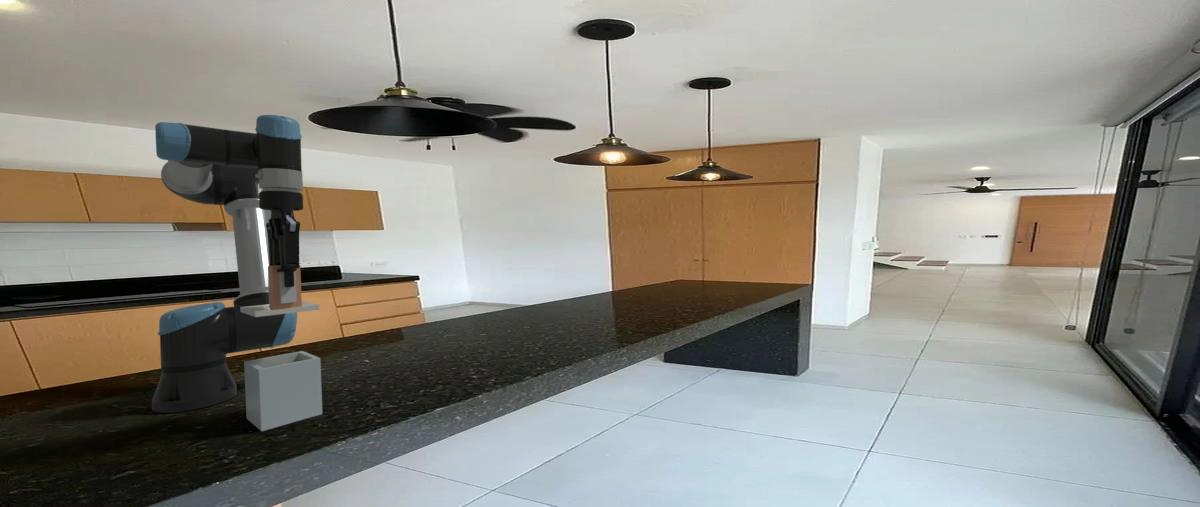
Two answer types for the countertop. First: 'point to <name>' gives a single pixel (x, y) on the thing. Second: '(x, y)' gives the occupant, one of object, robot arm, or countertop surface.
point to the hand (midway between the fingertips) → (285, 301)
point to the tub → (282, 389)
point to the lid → (274, 298)
